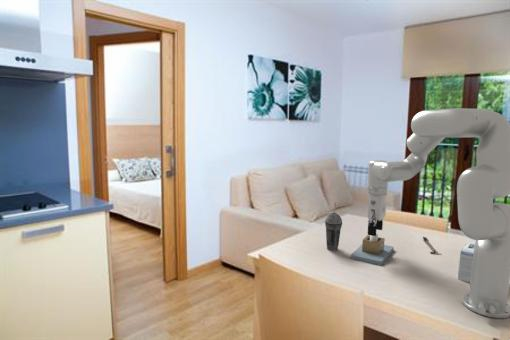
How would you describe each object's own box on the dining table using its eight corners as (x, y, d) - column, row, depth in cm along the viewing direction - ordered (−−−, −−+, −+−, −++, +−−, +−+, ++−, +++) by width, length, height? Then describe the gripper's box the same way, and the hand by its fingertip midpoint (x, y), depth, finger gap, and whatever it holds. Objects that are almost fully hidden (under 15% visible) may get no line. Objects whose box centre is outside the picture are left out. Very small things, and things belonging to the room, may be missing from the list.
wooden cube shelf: (379, 255, 144) (380, 243, 143) (362, 251, 148) (362, 239, 147) (383, 249, 150) (384, 238, 149) (366, 246, 154) (367, 235, 153)
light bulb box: (462, 270, 135) (465, 242, 133) (484, 275, 131) (487, 246, 129) (457, 279, 127) (460, 249, 125) (479, 285, 122) (482, 254, 121)
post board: (381, 265, 138) (382, 243, 136) (350, 258, 144) (351, 237, 143) (393, 250, 154) (394, 230, 153) (365, 244, 161) (366, 225, 160)
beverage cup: (321, 249, 153) (323, 203, 150) (326, 244, 159) (328, 200, 157) (338, 253, 150) (340, 205, 147) (342, 247, 156) (345, 202, 153)
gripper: (381, 195, 136) (379, 239, 138) (391, 189, 151) (389, 229, 153) (361, 193, 140) (359, 236, 142) (373, 187, 155) (371, 226, 157)
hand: (375, 232), depth 147 cm, fingers open, 9 cm apart
